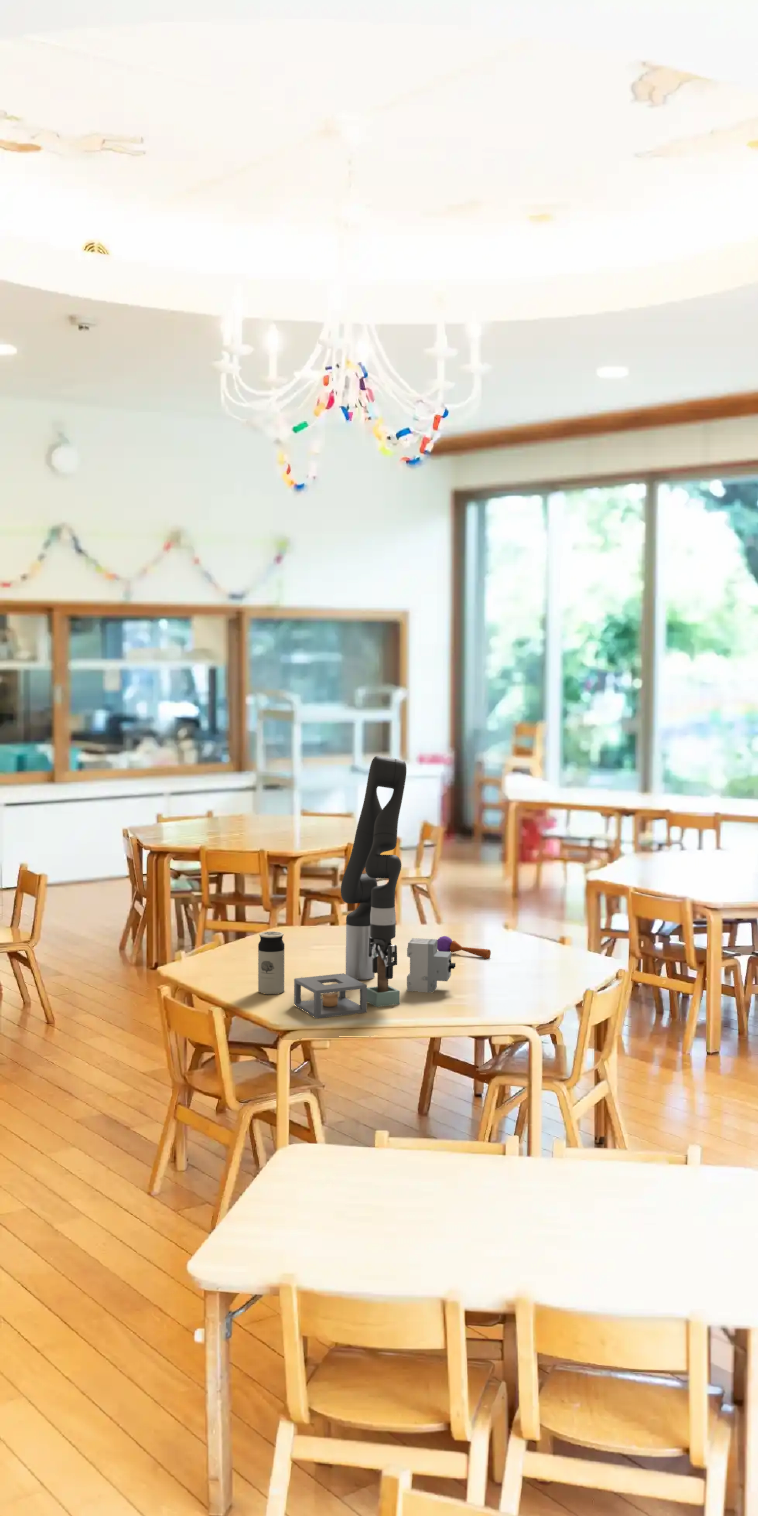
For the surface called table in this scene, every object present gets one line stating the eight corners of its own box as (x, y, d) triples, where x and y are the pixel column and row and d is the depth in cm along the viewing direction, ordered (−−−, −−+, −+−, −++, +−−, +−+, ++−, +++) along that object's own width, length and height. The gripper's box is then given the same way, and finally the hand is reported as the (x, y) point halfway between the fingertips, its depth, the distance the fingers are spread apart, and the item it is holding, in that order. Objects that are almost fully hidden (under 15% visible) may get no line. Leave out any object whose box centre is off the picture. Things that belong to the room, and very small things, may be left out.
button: (320, 1003, 397) (320, 993, 397) (333, 1002, 399) (333, 992, 399) (326, 1007, 394) (326, 997, 393) (340, 1005, 396) (340, 995, 395)
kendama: (484, 949, 461) (432, 938, 471) (484, 965, 463) (433, 954, 473) (492, 943, 466) (441, 932, 476) (492, 959, 468) (441, 948, 478)
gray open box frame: (294, 1005, 400) (294, 978, 400) (343, 999, 407) (343, 973, 407) (316, 1018, 386) (316, 990, 385) (366, 1012, 393) (367, 985, 392)
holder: (365, 1001, 406) (365, 987, 406) (388, 998, 409) (388, 985, 409) (376, 1006, 399) (376, 993, 399) (399, 1004, 402) (399, 990, 402)
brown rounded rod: (375, 1002, 405) (375, 955, 404) (385, 1000, 406) (385, 954, 405) (380, 1004, 402) (380, 957, 401) (390, 1003, 403) (390, 956, 402)
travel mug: (268, 987, 422) (268, 930, 420) (289, 990, 418) (289, 932, 416) (253, 992, 415) (253, 934, 414) (274, 996, 411) (274, 937, 410)
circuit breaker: (452, 993, 415) (453, 945, 414) (406, 991, 418) (407, 942, 417) (456, 987, 423) (456, 940, 422) (411, 985, 426) (411, 938, 425)
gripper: (405, 925, 398) (404, 979, 399) (383, 916, 410) (383, 969, 412) (382, 927, 394) (381, 982, 395) (361, 918, 407) (360, 972, 408)
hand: (382, 975), depth 404 cm, fingers open, 8 cm apart
